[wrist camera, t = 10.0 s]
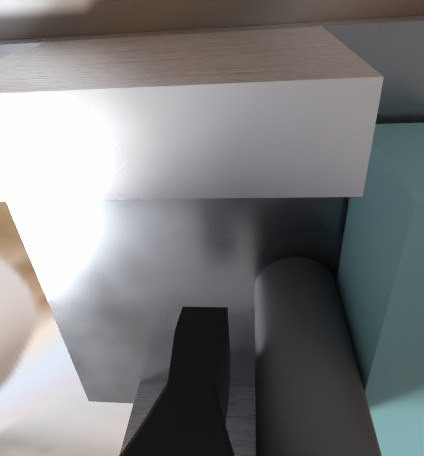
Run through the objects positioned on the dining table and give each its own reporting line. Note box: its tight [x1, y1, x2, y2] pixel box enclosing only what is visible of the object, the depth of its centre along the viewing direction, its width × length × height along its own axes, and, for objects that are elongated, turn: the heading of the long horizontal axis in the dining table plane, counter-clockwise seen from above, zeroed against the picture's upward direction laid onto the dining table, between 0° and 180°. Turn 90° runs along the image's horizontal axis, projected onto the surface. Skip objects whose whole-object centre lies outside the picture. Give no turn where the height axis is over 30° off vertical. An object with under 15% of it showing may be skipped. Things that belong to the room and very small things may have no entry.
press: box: [0, 16, 424, 456], centre depth 10 cm, size 14×18×5 cm
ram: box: [254, 123, 424, 456], centre depth 9 cm, size 10×4×6 cm, turn 4°
